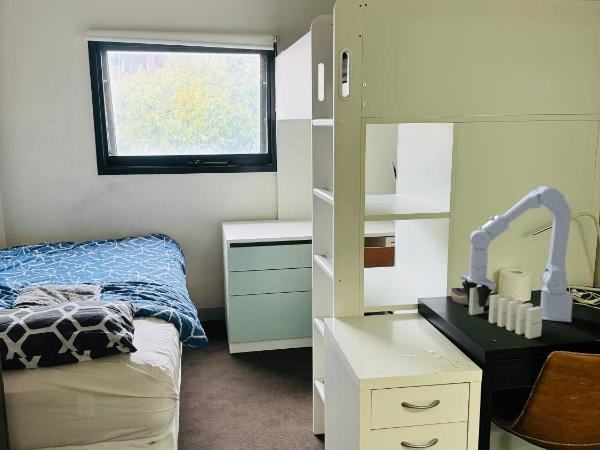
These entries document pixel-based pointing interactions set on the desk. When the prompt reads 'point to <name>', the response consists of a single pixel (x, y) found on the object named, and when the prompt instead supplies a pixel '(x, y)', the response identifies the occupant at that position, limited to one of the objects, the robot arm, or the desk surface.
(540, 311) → the domino
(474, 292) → the domino
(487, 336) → the desk surface
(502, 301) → the domino
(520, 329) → the domino
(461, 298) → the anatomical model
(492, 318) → the domino
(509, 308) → the domino
